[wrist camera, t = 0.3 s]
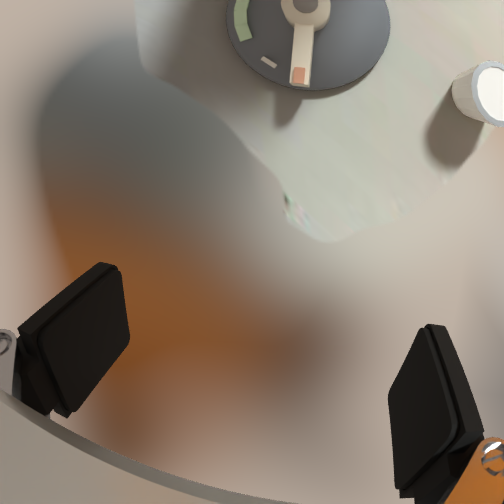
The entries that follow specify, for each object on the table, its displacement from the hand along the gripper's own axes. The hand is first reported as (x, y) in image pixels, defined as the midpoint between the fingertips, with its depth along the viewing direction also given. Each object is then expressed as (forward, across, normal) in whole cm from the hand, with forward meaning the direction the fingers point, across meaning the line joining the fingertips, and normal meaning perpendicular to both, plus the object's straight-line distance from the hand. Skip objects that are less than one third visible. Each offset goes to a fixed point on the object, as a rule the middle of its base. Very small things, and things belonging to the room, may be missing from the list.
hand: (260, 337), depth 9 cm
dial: (+29, +2, -18) cm, 34 cm away
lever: (+28, +2, -15) cm, 32 cm away
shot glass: (+29, -18, -13) cm, 37 cm away
